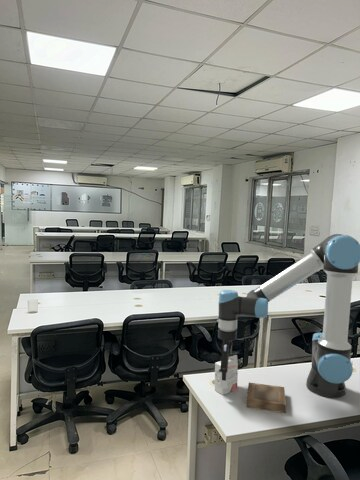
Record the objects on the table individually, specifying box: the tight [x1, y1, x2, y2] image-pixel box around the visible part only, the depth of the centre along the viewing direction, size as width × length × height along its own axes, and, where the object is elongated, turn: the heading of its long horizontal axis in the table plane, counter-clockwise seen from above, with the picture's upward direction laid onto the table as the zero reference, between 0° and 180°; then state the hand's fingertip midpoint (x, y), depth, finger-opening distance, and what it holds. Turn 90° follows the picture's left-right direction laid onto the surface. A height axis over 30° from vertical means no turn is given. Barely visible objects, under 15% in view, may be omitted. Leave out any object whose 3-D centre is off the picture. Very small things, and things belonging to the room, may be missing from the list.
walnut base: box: [245, 382, 287, 414], centre depth 135 cm, size 14×14×3 cm
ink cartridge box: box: [214, 354, 239, 396], centre depth 143 cm, size 9×5×15 cm, turn 126°
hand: (226, 379), depth 143 cm, fingers open, 13 cm apart
